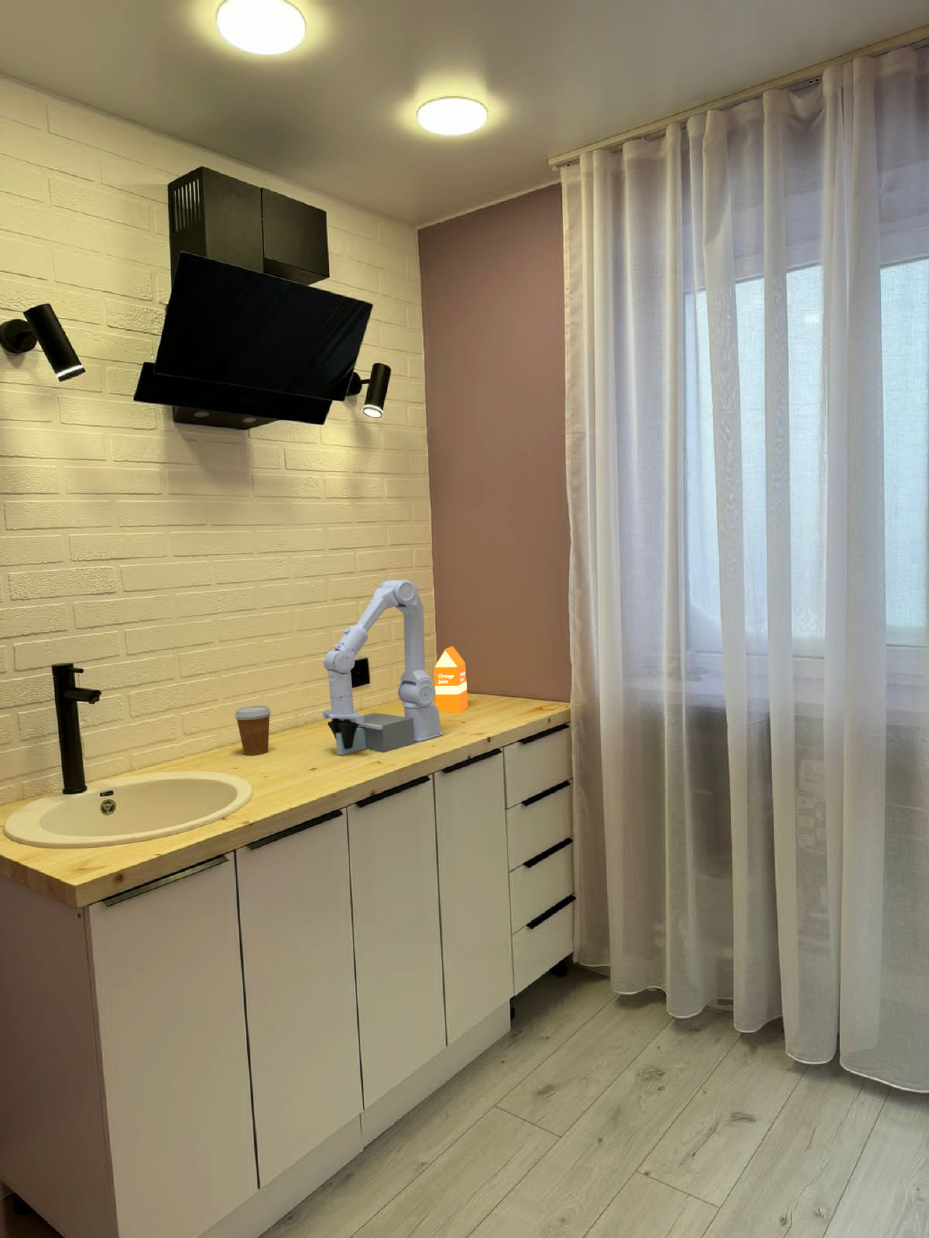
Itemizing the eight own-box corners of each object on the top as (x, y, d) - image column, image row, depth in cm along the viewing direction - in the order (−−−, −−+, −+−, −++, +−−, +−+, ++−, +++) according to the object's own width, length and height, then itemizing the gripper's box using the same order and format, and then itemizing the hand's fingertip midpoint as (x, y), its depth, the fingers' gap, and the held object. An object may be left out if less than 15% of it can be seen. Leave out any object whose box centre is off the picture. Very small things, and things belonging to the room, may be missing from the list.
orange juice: (436, 713, 274) (432, 650, 272) (445, 707, 282) (441, 646, 281) (460, 713, 272) (456, 649, 270) (468, 707, 280) (464, 645, 278)
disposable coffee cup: (238, 758, 229) (234, 713, 228) (237, 751, 238) (233, 707, 237) (275, 754, 231) (271, 709, 230) (273, 746, 241) (269, 704, 240)
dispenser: (375, 737, 244) (373, 712, 244) (415, 743, 233) (413, 717, 233) (342, 746, 236) (340, 720, 235) (382, 753, 225) (380, 726, 224)
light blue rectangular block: (378, 742, 236) (376, 722, 235) (383, 743, 234) (381, 723, 234) (337, 754, 226) (335, 733, 225) (342, 754, 224) (340, 733, 224)
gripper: (311, 696, 227) (315, 747, 228) (347, 701, 217) (351, 754, 218) (333, 692, 232) (337, 742, 234) (368, 696, 222) (372, 748, 224)
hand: (345, 747), depth 226 cm, fingers closed on light blue rectangular block, 2 cm apart
